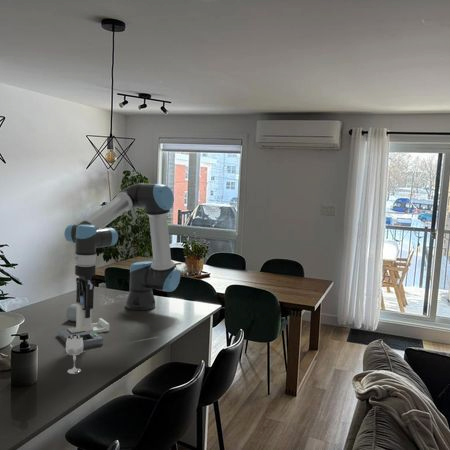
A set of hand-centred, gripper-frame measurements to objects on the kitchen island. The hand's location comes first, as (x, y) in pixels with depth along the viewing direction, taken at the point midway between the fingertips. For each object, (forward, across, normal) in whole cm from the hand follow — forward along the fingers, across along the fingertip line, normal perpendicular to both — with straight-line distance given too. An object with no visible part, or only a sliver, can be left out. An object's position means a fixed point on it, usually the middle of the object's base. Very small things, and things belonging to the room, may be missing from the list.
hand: (84, 323), depth 176 cm
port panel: (+9, -5, 0) cm, 10 cm away
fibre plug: (+2, 0, 0) cm, 2 cm away
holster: (+9, -14, +10) cm, 19 cm away
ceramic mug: (+9, -30, +9) cm, 32 cm away
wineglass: (+9, +21, -11) cm, 26 cm away
